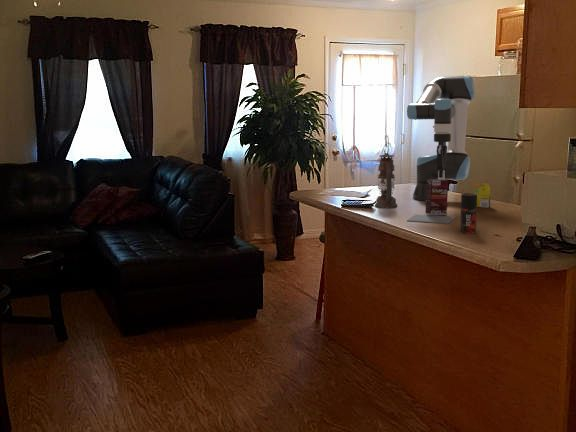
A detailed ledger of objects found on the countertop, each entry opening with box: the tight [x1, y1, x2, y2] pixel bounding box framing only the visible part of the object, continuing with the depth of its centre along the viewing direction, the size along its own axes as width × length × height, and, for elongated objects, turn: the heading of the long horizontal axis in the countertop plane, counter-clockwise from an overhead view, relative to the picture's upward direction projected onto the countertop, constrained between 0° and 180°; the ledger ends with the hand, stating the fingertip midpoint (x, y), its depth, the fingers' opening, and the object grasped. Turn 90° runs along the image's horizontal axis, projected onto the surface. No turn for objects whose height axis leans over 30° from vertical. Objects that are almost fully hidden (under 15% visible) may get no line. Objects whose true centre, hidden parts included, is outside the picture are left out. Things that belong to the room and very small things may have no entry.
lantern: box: [374, 135, 398, 209], centre depth 306 cm, size 11×16×35 cm
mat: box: [406, 213, 456, 225], centre depth 274 cm, size 15×18×1 cm
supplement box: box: [425, 179, 449, 216], centre depth 282 cm, size 9×5×16 cm, turn 105°
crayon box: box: [473, 182, 492, 209], centre depth 302 cm, size 7×3×12 cm, turn 57°
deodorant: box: [459, 193, 478, 234], centre depth 246 cm, size 6×6×15 cm
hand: (441, 184), depth 290 cm, fingers closed
